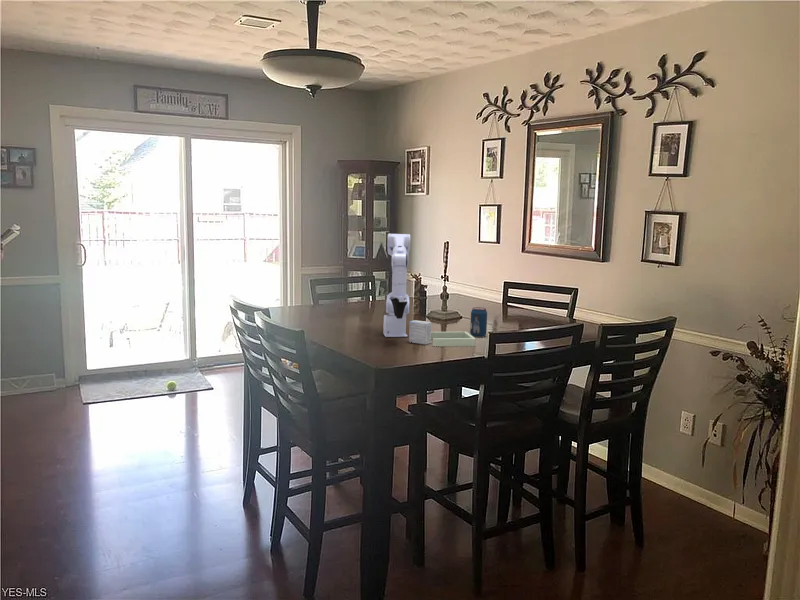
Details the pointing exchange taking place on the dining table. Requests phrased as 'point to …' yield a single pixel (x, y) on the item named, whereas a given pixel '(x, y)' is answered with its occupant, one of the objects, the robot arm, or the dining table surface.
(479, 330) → the soda can
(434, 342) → the bay
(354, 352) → the dining table surface
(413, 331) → the medicine box
